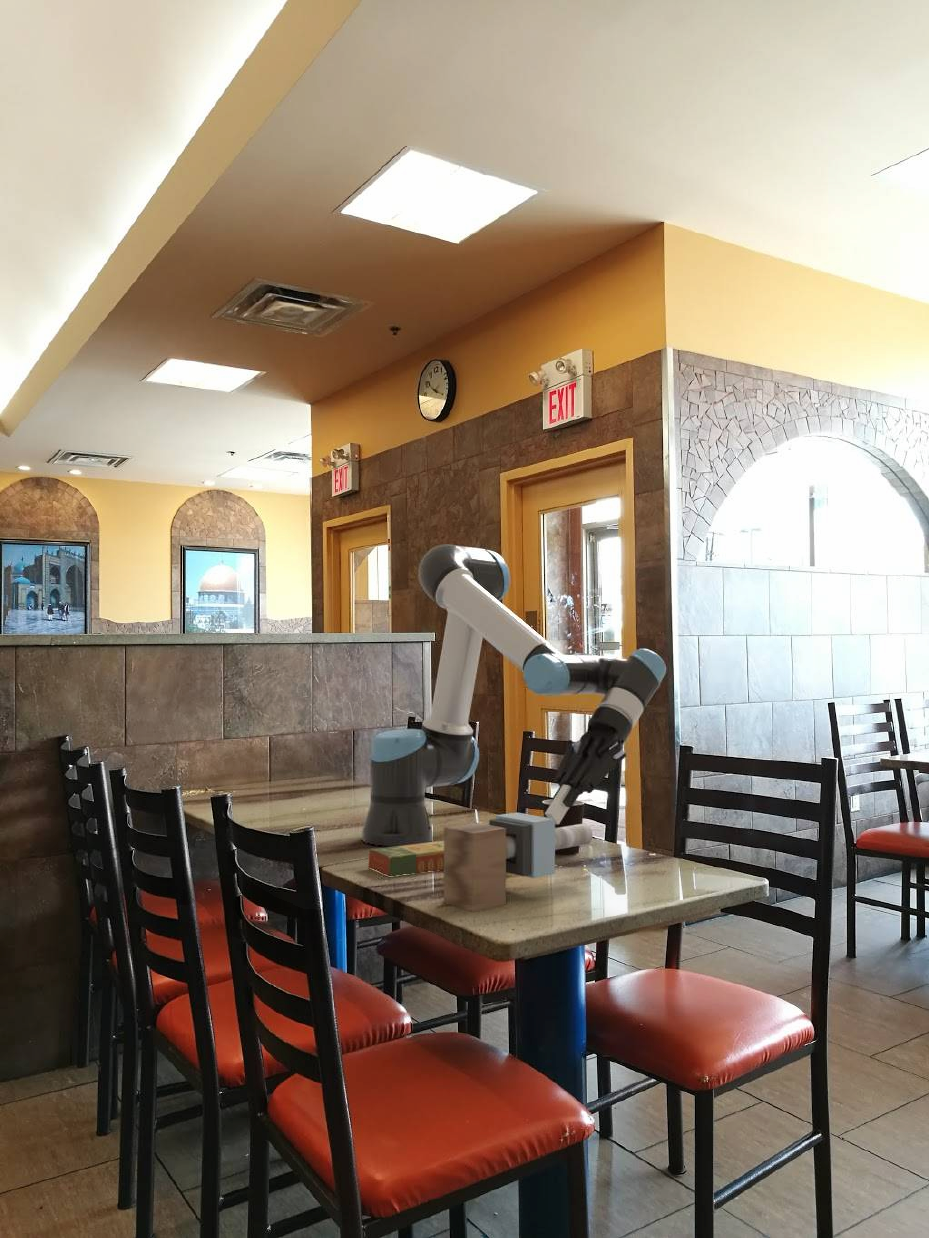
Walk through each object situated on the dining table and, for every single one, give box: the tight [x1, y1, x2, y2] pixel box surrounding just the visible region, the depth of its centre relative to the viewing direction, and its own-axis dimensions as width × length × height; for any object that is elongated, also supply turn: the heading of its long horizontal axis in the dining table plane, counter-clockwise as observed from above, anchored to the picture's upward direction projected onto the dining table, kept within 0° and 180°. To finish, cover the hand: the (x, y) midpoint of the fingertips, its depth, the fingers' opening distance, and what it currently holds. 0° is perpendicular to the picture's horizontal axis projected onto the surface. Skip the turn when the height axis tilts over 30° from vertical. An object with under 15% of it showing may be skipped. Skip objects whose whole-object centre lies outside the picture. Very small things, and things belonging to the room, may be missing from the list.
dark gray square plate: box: [488, 818, 532, 877], centre depth 157 cm, size 8×2×8 cm, turn 42°
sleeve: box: [495, 812, 556, 879], centre depth 159 cm, size 9×5×9 cm, turn 42°
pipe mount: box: [443, 822, 593, 913], centre depth 159 cm, size 7×30×12 cm, turn 132°
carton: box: [368, 840, 444, 876], centre depth 177 cm, size 8×16×4 cm, turn 122°
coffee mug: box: [541, 799, 585, 856], centre depth 195 cm, size 12×9×10 cm
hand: (551, 818), depth 164 cm, fingers closed
